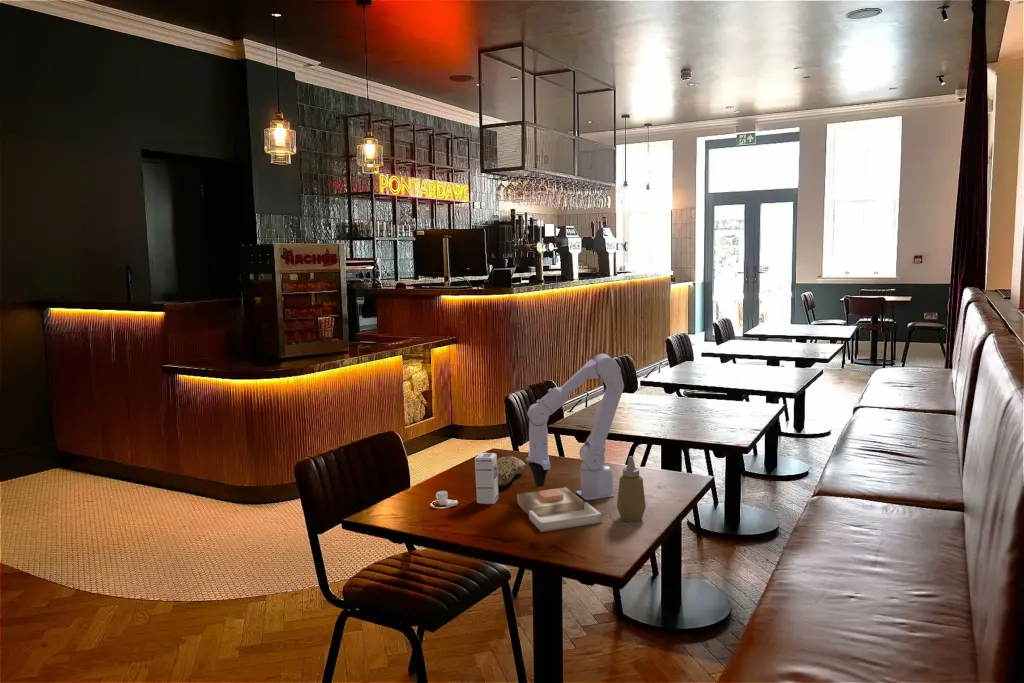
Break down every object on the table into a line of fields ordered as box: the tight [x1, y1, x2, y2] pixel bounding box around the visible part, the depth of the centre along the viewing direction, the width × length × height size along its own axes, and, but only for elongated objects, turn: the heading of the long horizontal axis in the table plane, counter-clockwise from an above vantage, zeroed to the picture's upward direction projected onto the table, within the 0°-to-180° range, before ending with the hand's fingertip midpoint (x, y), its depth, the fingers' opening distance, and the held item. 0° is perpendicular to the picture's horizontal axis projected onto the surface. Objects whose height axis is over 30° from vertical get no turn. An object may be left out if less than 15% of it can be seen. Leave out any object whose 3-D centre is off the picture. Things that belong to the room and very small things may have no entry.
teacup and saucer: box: [429, 490, 459, 509], centre depth 220 cm, size 9×8×4 cm
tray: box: [528, 501, 603, 533], centre depth 203 cm, size 18×10×2 cm, turn 108°
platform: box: [516, 486, 584, 516], centre depth 214 cm, size 16×13×3 cm
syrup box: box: [474, 452, 500, 505], centre depth 221 cm, size 6×6×14 cm
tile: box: [537, 488, 563, 502], centre depth 214 cm, size 6×6×2 cm
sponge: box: [497, 455, 527, 487], centre depth 241 cm, size 13×8×20 cm
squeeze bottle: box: [616, 455, 647, 523], centre depth 203 cm, size 8×8×18 cm
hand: (539, 485), depth 222 cm, fingers closed
